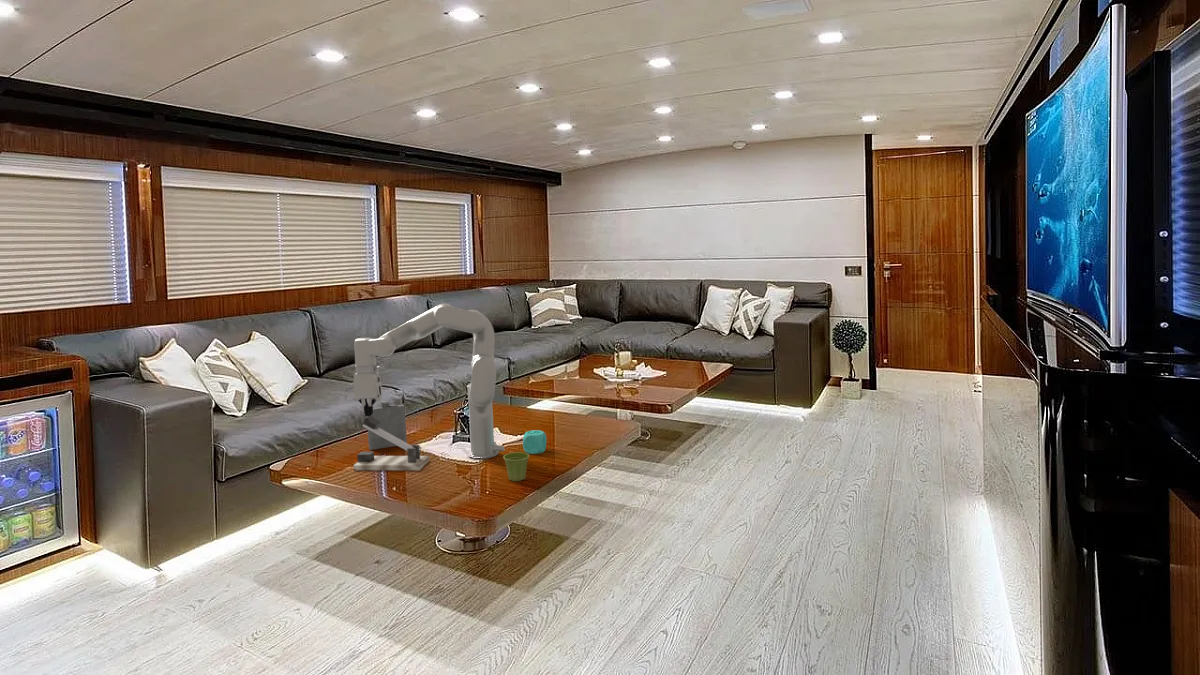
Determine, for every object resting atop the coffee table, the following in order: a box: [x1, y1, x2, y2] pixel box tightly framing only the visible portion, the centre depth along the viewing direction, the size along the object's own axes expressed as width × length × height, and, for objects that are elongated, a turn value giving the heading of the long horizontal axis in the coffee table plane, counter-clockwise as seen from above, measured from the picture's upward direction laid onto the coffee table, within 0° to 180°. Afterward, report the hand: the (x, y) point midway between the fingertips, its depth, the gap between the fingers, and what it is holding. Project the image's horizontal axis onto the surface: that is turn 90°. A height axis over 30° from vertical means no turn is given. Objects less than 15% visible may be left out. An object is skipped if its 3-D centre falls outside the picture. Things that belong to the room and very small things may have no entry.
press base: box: [353, 444, 430, 471], centre depth 262 cm, size 26×12×8 cm, turn 86°
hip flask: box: [366, 400, 408, 451], centre depth 288 cm, size 16×4×20 cm, turn 117°
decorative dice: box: [522, 429, 548, 455], centre depth 277 cm, size 8×8×8 cm
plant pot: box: [503, 451, 530, 482], centre depth 244 cm, size 9×9×9 cm
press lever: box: [362, 416, 415, 452], centre depth 261 cm, size 22×5×4 cm
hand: (368, 415), depth 261 cm, fingers closed
